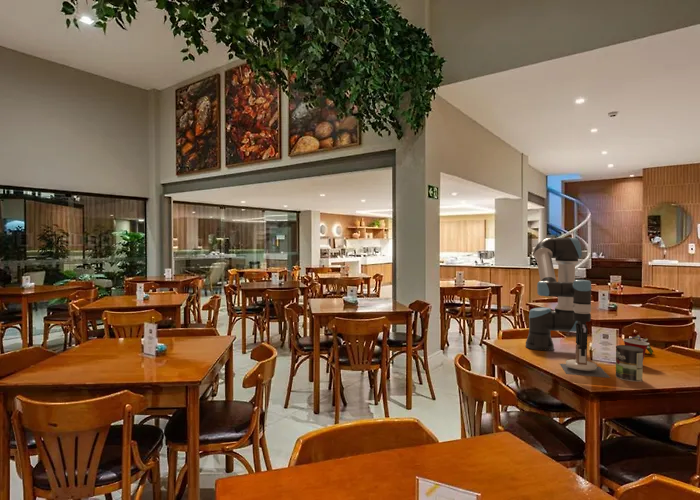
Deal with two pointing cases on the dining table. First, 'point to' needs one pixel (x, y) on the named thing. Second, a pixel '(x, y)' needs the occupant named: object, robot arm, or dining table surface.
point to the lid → (581, 366)
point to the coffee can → (629, 363)
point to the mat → (585, 372)
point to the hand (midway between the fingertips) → (581, 360)
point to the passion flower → (643, 341)
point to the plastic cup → (636, 344)
